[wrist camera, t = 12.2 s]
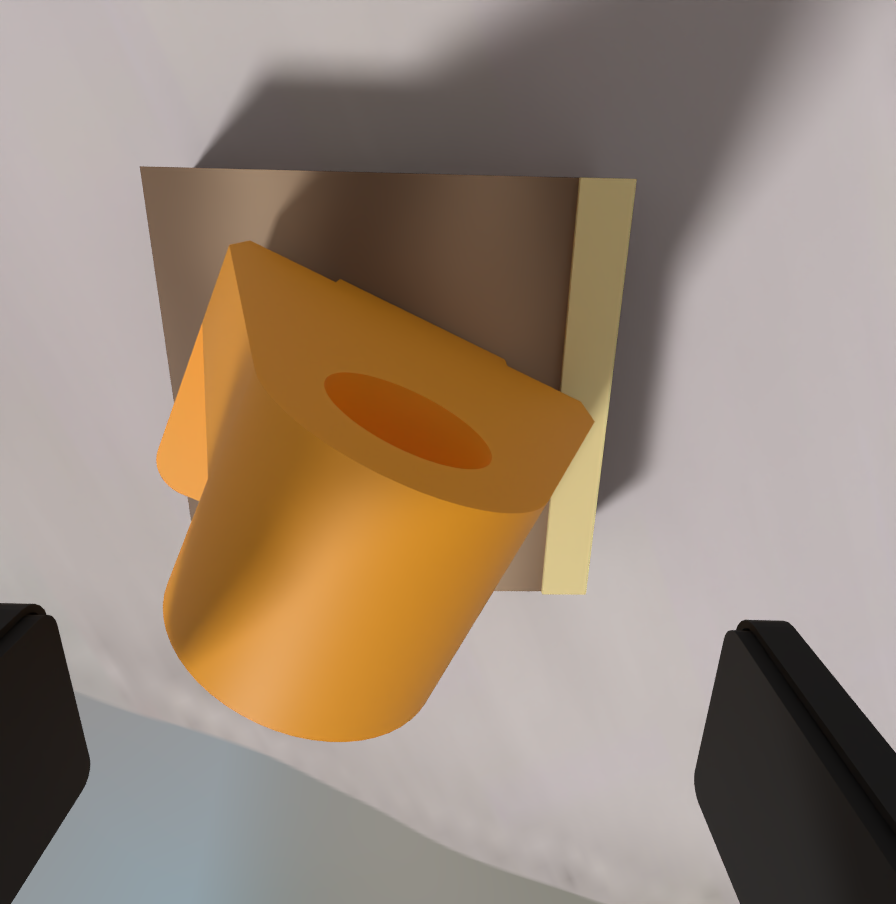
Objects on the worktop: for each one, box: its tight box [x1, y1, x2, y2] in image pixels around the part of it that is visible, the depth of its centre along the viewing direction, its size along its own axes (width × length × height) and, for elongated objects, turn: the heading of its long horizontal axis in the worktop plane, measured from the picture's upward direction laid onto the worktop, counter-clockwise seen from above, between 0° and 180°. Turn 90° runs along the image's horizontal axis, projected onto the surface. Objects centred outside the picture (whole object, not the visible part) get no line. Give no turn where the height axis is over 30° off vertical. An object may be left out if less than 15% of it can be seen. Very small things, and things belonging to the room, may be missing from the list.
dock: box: [140, 166, 637, 594], centre depth 22 cm, size 14×14×4 cm
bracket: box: [156, 240, 595, 742], centre depth 15 cm, size 11×7×12 cm, turn 64°
